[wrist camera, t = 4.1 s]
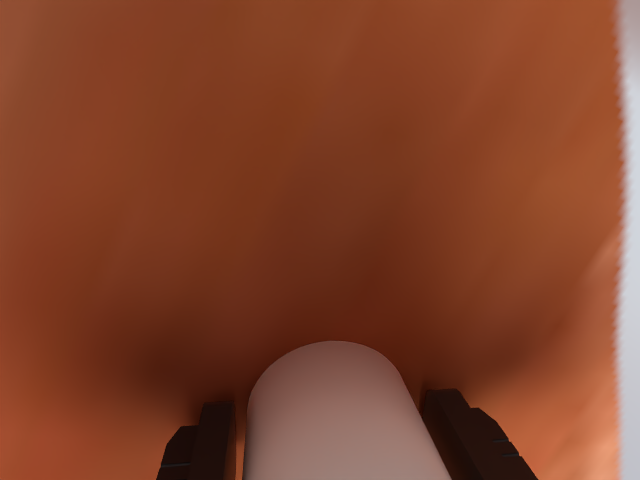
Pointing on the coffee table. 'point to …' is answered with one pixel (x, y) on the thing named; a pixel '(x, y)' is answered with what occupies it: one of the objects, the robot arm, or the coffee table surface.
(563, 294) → the coffee table surface
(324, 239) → the coffee table surface
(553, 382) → the coffee table surface
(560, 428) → the coffee table surface
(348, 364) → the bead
